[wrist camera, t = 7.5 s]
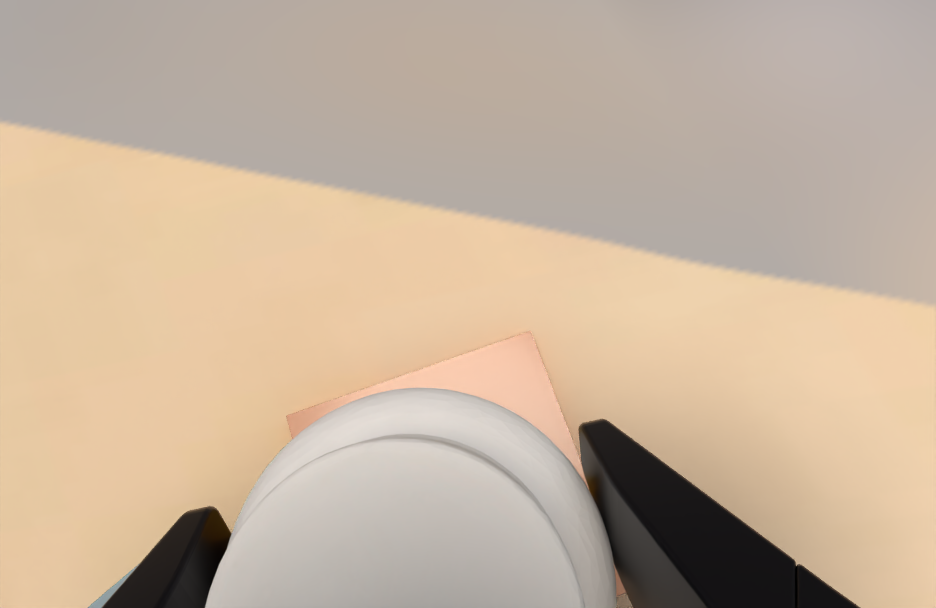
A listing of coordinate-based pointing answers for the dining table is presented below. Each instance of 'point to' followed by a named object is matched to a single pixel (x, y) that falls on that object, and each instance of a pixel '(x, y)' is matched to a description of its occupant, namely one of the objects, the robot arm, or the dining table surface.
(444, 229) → the dining table surface
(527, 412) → the tile
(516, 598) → the supplement bottle
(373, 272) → the dining table surface
